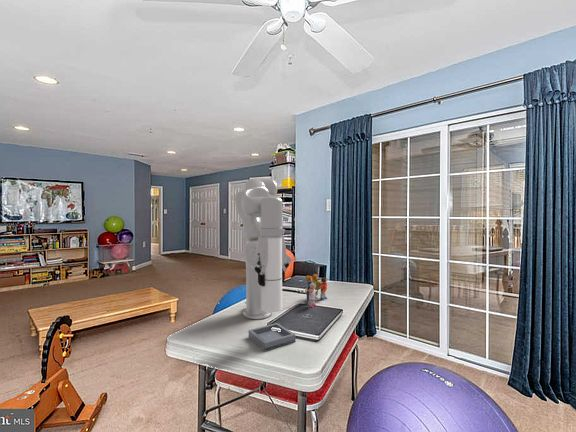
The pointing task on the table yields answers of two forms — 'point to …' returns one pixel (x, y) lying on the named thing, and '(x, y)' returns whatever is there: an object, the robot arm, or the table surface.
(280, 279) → the cylindrical container
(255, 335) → the tray
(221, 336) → the table surface
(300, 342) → the table surface
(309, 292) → the doll family
